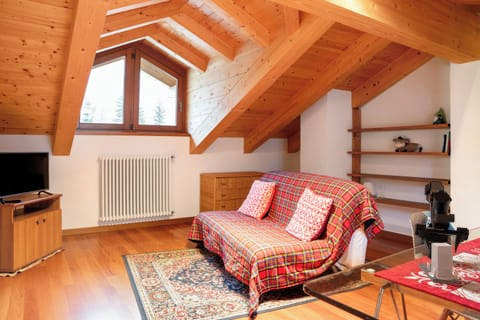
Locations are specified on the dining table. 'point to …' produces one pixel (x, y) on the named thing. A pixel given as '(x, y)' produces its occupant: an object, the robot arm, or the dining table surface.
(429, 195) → the robot arm
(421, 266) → the tray
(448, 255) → the skincare box
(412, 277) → the dining table surface
